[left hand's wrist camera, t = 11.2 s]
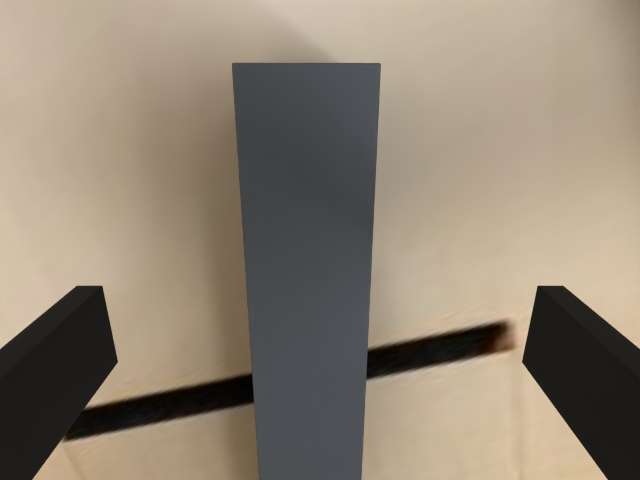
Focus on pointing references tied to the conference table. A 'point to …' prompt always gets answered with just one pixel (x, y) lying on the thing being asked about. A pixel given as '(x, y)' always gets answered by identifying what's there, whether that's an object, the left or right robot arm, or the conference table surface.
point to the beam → (308, 258)
